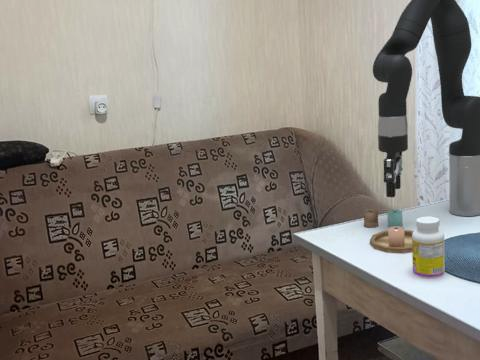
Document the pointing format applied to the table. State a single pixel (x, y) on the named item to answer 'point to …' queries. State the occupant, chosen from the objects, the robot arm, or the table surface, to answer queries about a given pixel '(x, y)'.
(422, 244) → the supplement bottle
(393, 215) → the bead
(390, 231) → the bead
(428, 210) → the table surface
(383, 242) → the tray
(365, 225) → the bead
